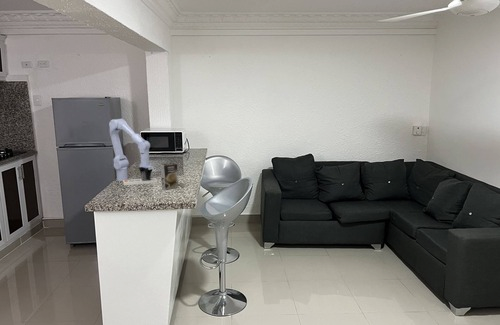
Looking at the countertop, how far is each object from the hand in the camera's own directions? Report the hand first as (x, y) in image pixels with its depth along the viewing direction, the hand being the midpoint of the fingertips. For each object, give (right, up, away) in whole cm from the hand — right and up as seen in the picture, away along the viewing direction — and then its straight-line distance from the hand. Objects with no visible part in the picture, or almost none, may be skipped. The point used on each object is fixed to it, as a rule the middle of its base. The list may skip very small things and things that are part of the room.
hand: (146, 178), depth 261 cm
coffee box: (+19, -6, -12) cm, 23 cm away
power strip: (-4, -4, -1) cm, 5 cm away
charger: (0, -2, 0) cm, 2 cm away
